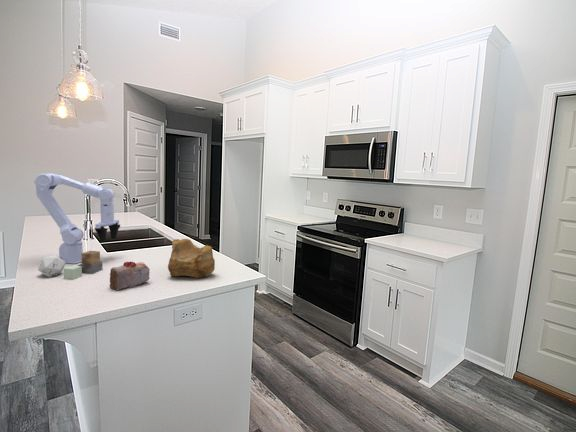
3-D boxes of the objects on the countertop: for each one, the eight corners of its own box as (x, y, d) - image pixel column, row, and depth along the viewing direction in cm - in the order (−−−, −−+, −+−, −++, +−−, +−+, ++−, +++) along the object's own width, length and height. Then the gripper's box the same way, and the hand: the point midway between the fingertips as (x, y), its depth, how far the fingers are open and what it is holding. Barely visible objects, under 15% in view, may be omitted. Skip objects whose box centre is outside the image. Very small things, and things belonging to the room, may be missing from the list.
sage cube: (63, 278, 135) (63, 268, 134) (72, 275, 139) (72, 265, 139) (73, 279, 134) (73, 269, 134) (81, 276, 139) (81, 266, 138)
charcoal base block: (79, 273, 143) (78, 264, 142) (88, 269, 149) (88, 260, 148) (93, 274, 142) (92, 265, 142) (102, 270, 149) (102, 261, 148)
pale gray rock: (33, 279, 134) (42, 263, 131) (37, 264, 140) (45, 248, 137) (57, 283, 139) (66, 267, 136) (60, 268, 146) (68, 252, 143)
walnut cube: (81, 264, 143) (81, 253, 142) (90, 261, 148) (89, 250, 147) (92, 265, 142) (91, 254, 142) (100, 262, 147) (99, 251, 146)
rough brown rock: (153, 275, 145) (151, 244, 142) (181, 264, 160) (180, 235, 156) (191, 288, 135) (190, 254, 131) (218, 274, 149) (217, 243, 145)
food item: (140, 278, 139) (140, 256, 137) (151, 283, 134) (151, 260, 133) (108, 287, 128) (107, 263, 126) (118, 292, 123) (117, 267, 122)
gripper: (104, 215, 152) (105, 243, 154) (124, 211, 166) (125, 237, 168) (90, 214, 153) (92, 242, 155) (111, 211, 167) (112, 236, 169)
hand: (108, 240), depth 161 cm, fingers open, 7 cm apart
